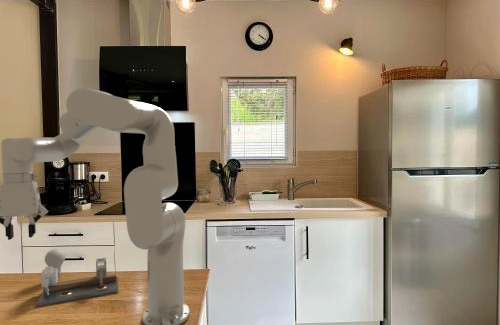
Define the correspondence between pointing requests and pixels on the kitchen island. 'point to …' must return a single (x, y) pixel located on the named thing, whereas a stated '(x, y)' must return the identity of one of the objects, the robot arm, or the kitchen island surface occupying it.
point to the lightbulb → (55, 259)
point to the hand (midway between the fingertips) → (21, 236)
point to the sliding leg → (49, 278)
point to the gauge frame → (99, 278)
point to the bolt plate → (78, 293)
